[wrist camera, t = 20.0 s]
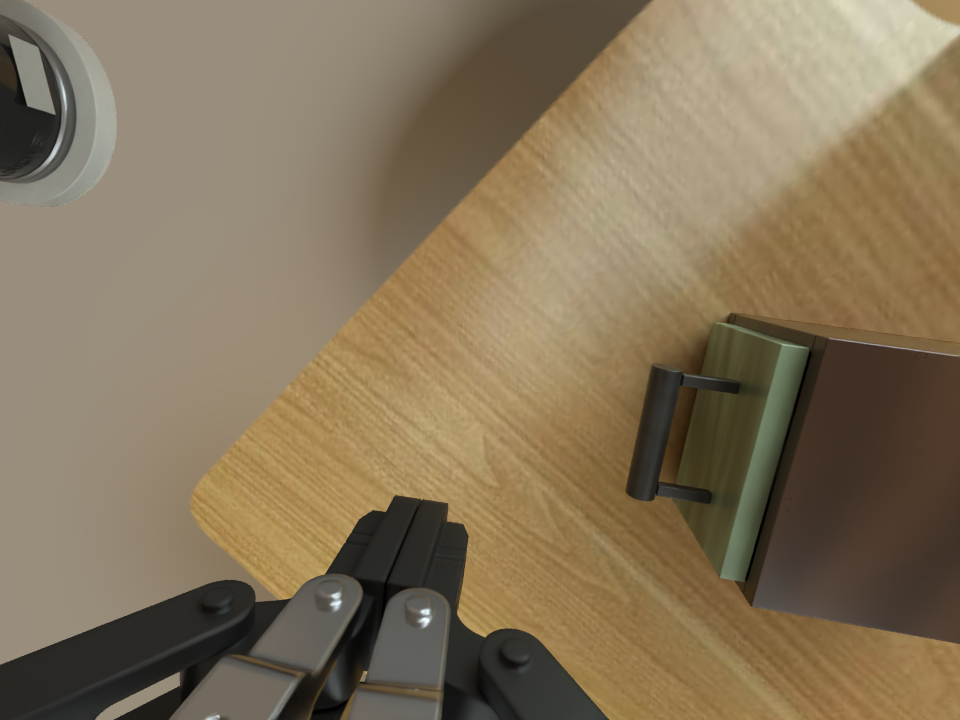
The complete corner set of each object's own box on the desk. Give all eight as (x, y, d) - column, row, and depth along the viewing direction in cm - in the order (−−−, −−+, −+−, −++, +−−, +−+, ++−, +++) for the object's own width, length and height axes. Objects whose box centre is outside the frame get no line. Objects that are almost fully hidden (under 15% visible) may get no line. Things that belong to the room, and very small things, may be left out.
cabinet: (684, 503, 31) (750, 607, 22) (730, 312, 28) (828, 337, 19) (920, 542, 30) (1096, 669, 21) (991, 347, 27) (1230, 392, 18)
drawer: (604, 487, 31) (628, 562, 23) (639, 311, 28) (679, 330, 21) (895, 535, 29) (1023, 631, 22) (958, 354, 27) (1128, 391, 19)
